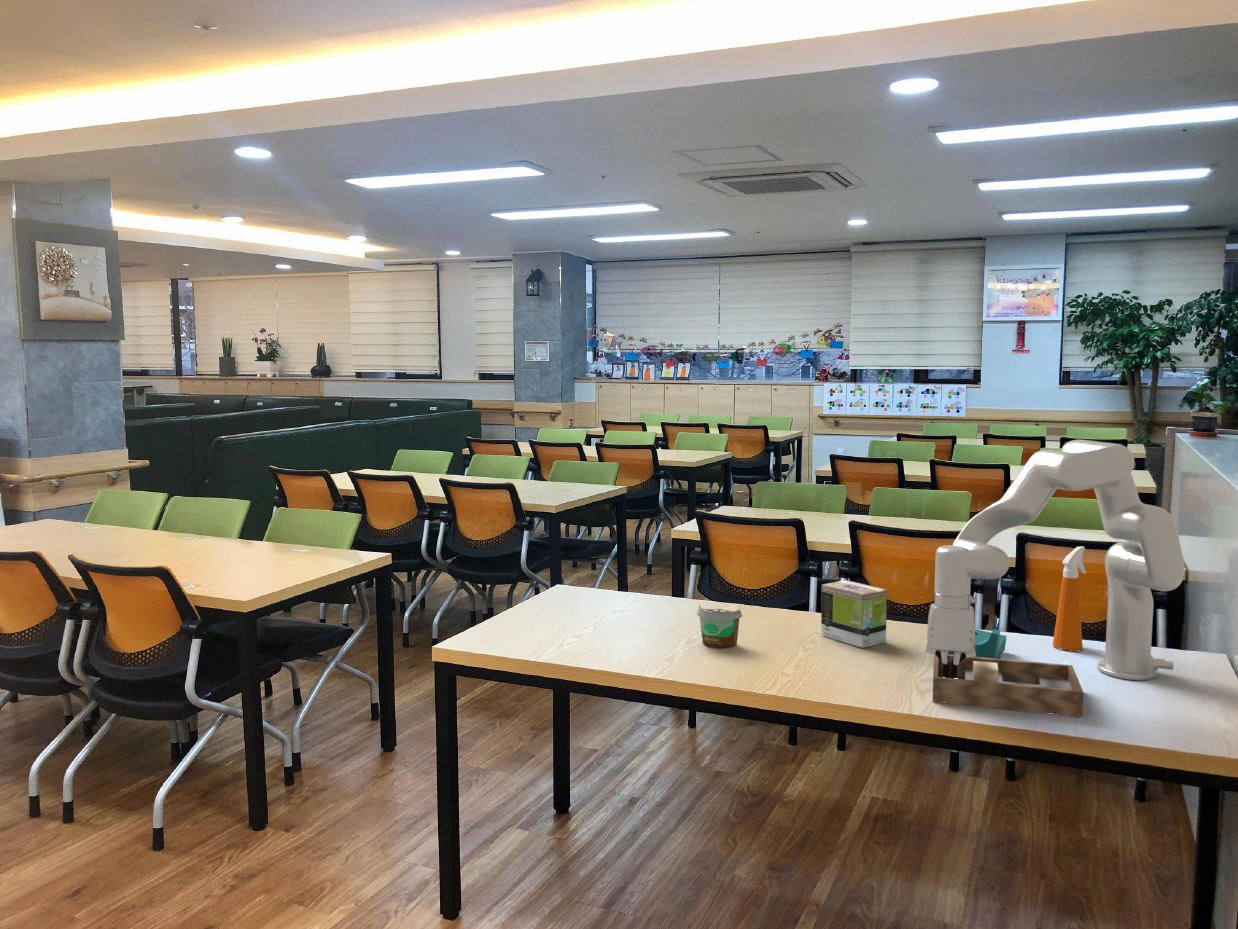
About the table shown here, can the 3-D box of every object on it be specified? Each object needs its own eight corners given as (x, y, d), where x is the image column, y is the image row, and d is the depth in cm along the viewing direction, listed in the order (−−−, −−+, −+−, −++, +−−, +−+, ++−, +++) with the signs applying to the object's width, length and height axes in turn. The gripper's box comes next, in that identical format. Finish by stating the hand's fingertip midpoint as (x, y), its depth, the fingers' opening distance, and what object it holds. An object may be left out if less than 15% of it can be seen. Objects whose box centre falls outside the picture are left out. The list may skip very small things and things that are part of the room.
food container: (691, 647, 245) (691, 610, 244) (698, 640, 250) (697, 605, 249) (736, 652, 240) (736, 615, 239) (742, 645, 246) (742, 609, 245)
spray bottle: (1095, 645, 241) (1099, 547, 238) (1073, 653, 235) (1078, 552, 232) (1069, 639, 247) (1073, 543, 244) (1047, 646, 241) (1051, 548, 238)
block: (996, 684, 207) (997, 663, 206) (997, 692, 202) (998, 670, 201) (972, 682, 208) (973, 661, 208) (973, 689, 204) (974, 668, 203)
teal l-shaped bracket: (992, 675, 222) (997, 634, 220) (946, 664, 227) (951, 624, 225) (1004, 654, 237) (1009, 616, 235) (960, 644, 242) (965, 606, 241)
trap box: (1071, 688, 210) (1072, 665, 210) (1082, 717, 194) (1083, 692, 193) (933, 675, 220) (934, 653, 220) (932, 702, 204) (933, 678, 203)
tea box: (887, 642, 246) (888, 588, 245) (862, 649, 241) (863, 594, 239) (844, 629, 259) (845, 578, 257) (819, 635, 253) (820, 583, 252)
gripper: (987, 599, 207) (984, 677, 209) (917, 594, 211) (915, 671, 214) (988, 607, 199) (986, 689, 202) (916, 602, 204) (914, 682, 207)
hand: (949, 679), depth 208 cm, fingers closed
